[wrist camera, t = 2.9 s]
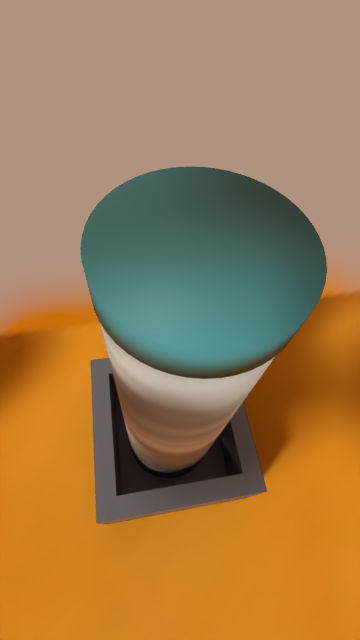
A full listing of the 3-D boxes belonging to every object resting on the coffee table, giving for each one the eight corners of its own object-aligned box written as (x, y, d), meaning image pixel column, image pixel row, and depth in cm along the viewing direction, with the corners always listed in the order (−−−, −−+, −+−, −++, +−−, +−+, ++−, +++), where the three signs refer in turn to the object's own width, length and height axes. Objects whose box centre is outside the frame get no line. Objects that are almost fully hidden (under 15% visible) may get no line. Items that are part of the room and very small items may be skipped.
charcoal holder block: (246, 497, 17) (266, 491, 14) (107, 524, 16) (96, 523, 13) (216, 370, 20) (227, 343, 17) (100, 386, 19) (90, 360, 16)
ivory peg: (223, 451, 17) (378, 284, 6) (152, 496, 16) (155, 404, 4) (182, 384, 19) (234, 147, 7) (115, 420, 18) (44, 203, 6)
